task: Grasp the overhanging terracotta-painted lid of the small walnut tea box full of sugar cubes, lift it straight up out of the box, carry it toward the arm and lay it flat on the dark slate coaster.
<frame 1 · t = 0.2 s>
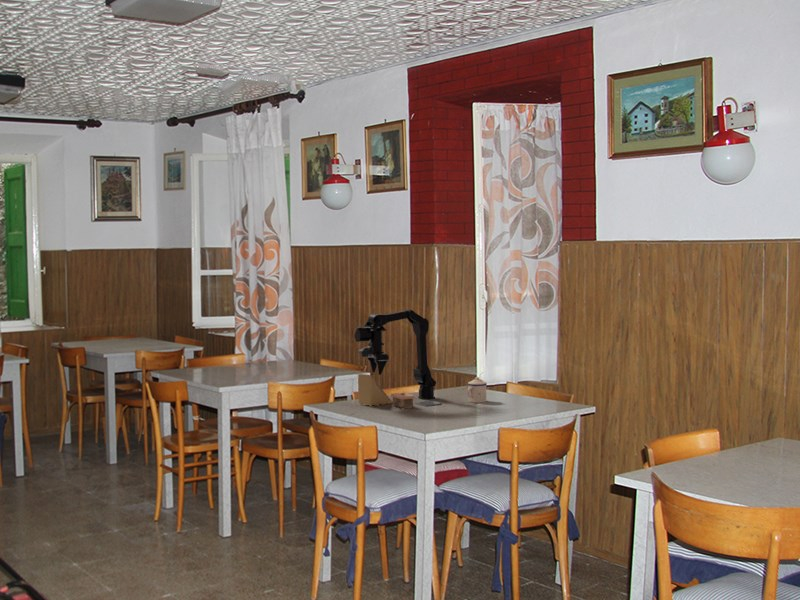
hand: (376, 373, 432), 15 cm above the table, fingers open, 9 cm apart
tea box: (402, 406, 423), on the table
teacup with lid: (475, 402, 435), on the table
lid: (402, 397, 423), point 4 cm above the table, touching tea box
sandwich container: (376, 404, 434), on the table
coaster: (428, 404, 430), on the table
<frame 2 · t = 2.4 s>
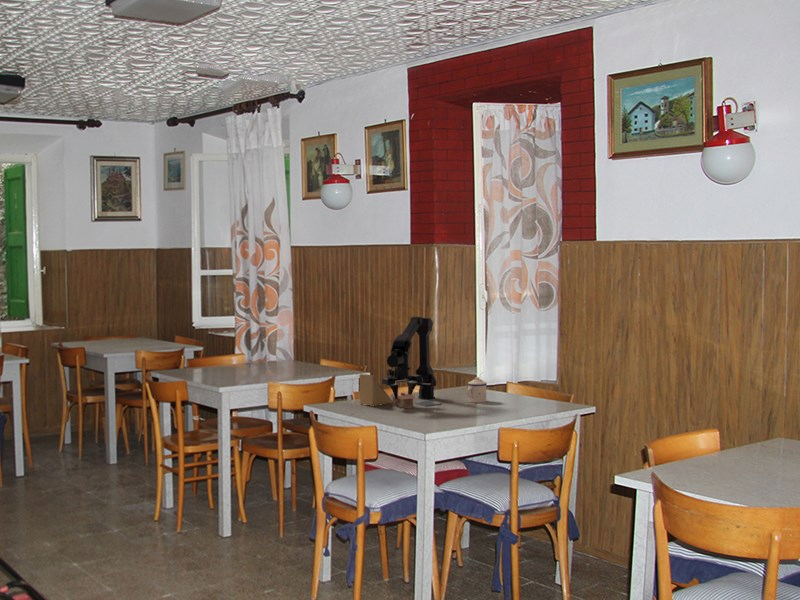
hand: (402, 398, 423), 4 cm above the table, fingers closed on lid, 7 cm apart
lid: (402, 397, 423), point 4 cm above the table, touching gripper, tea box
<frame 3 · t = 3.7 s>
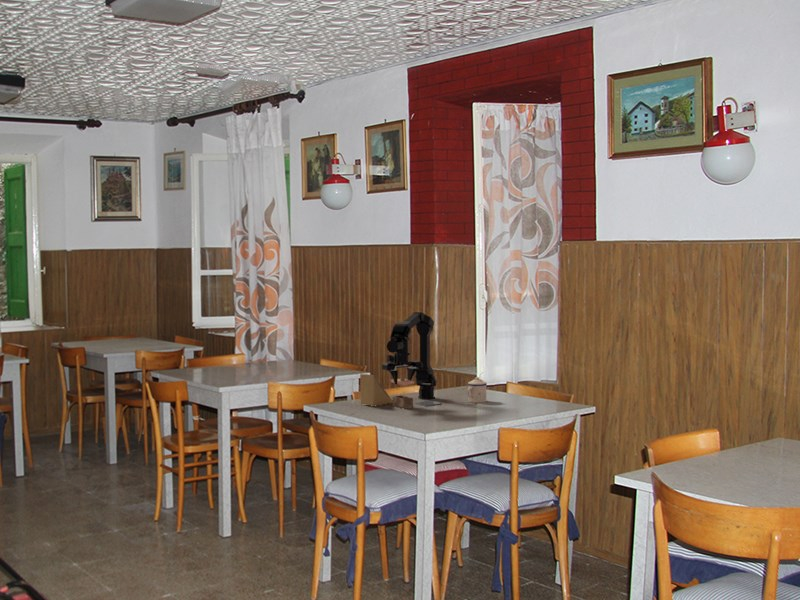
hand: (402, 383, 423), 11 cm above the table, fingers closed on lid, 7 cm apart
lid: (402, 382, 423), point 11 cm above the table, touching gripper
everything else where it was.
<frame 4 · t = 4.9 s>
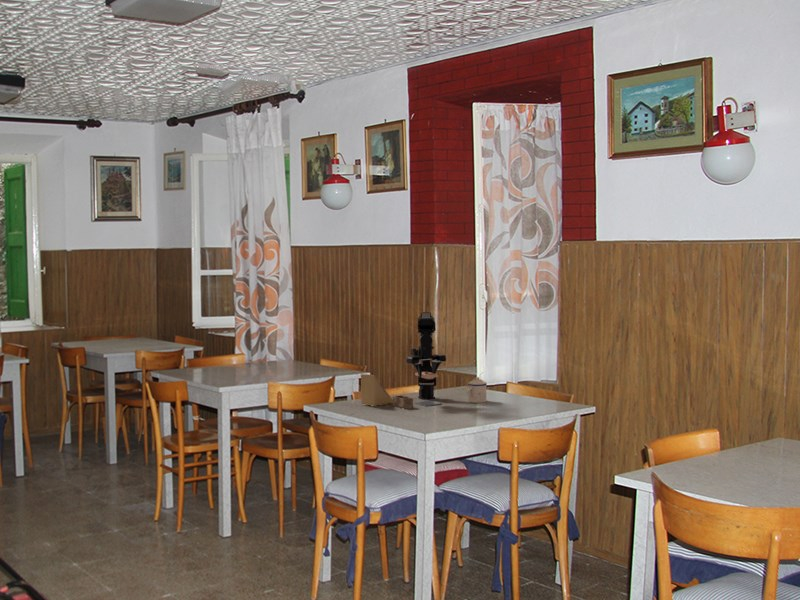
hand: (426, 377, 429), 13 cm above the table, fingers closed on lid, 7 cm apart
lid: (426, 376, 429), point 13 cm above the table, touching gripper
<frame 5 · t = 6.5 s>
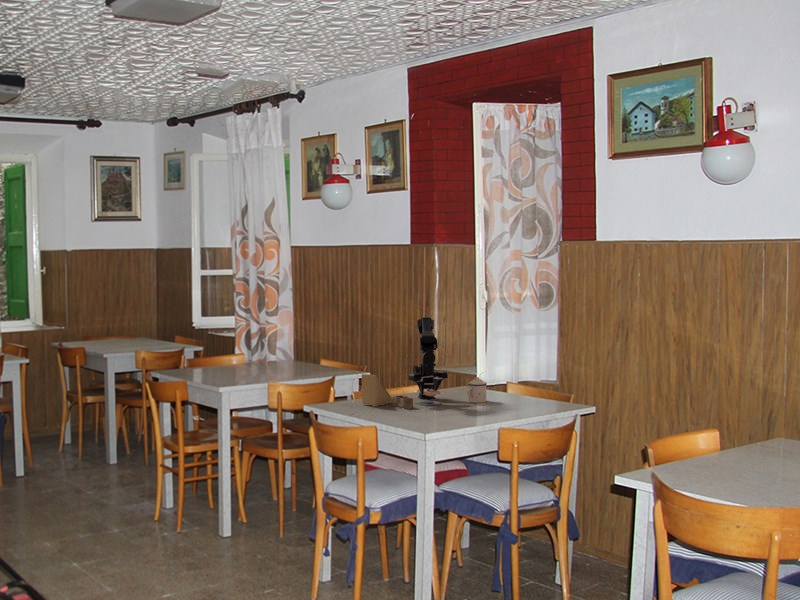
hand: (428, 394, 430), 5 cm above the table, fingers closed on lid, 7 cm apart
lid: (428, 393, 430), point 5 cm above the table, touching gripper
when the fingers open (2 cm above the table, at t = 7.6 s): lid drops 1 cm, resting on coaster.
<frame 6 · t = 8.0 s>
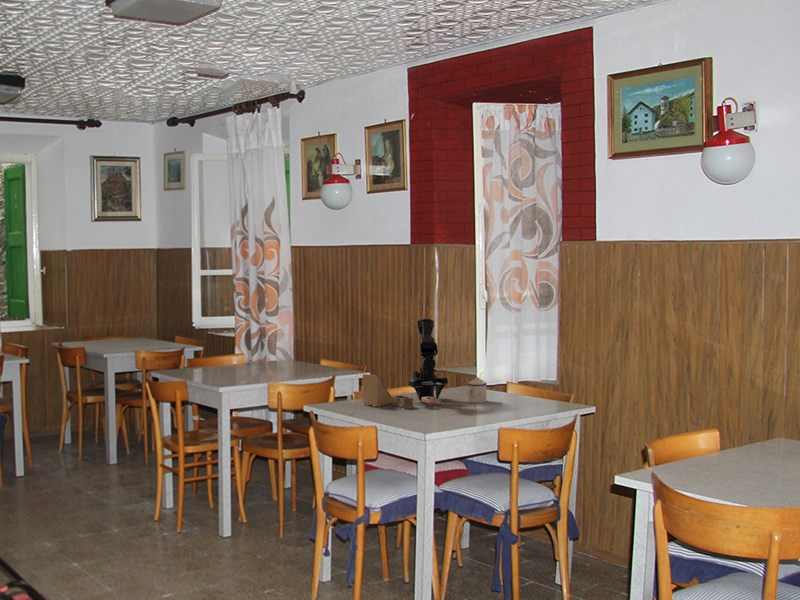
hand: (428, 399, 430), 2 cm above the table, fingers open, 9 cm apart
lid: (428, 401, 430), point 1 cm above the table, touching coaster
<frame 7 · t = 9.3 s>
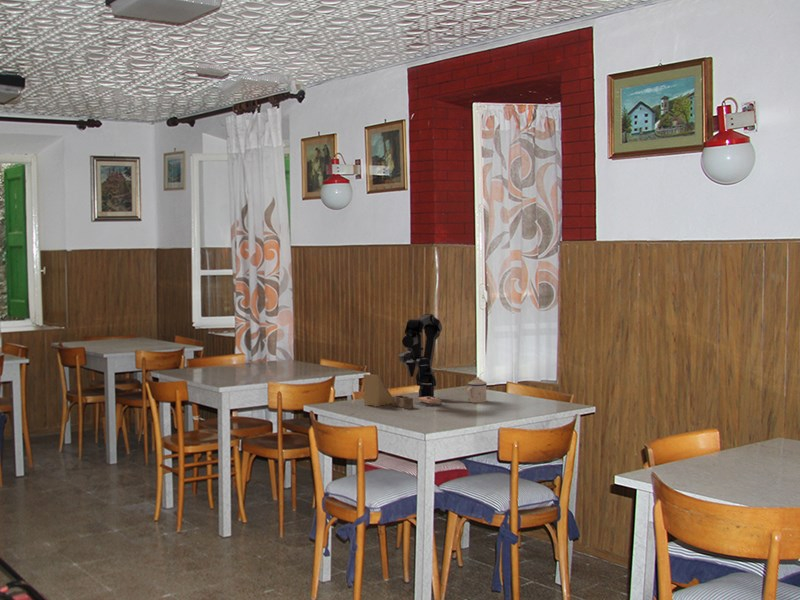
hand: (416, 378, 433), 12 cm above the table, fingers open, 9 cm apart
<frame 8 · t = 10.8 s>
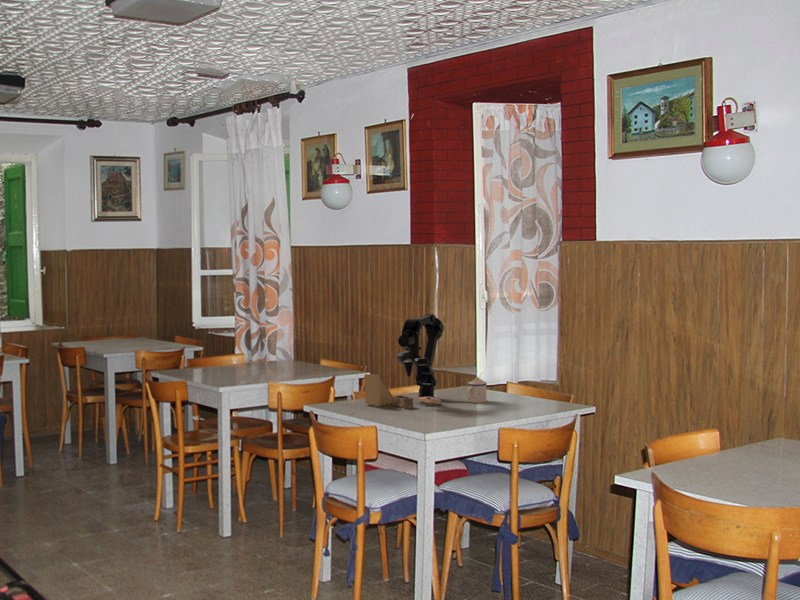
hand: (413, 377, 434), 12 cm above the table, fingers open, 9 cm apart
at the end: lid inside the target area on the coaster (0.1 cm from its centre), point 1.4 cm above the coaster's base; lid tilted 0°; lid touching coaster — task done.
